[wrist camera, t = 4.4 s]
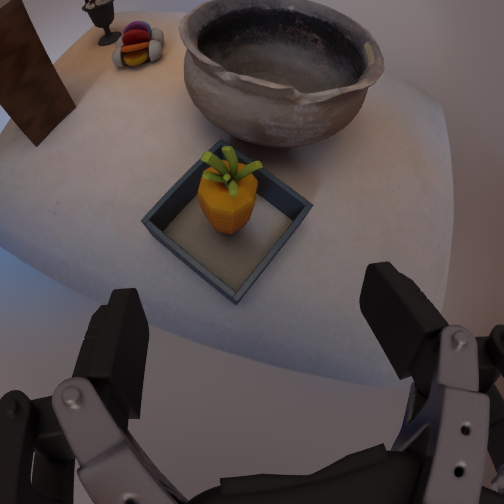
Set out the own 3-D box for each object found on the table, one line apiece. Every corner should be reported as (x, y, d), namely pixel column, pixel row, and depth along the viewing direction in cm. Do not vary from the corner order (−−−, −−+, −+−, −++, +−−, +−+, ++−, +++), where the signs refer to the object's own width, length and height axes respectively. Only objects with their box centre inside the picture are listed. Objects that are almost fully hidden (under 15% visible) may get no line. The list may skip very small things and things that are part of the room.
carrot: (258, 222, 33) (280, 148, 19) (233, 258, 32) (239, 203, 18) (221, 199, 34) (219, 115, 19) (196, 233, 32) (175, 164, 18)
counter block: (36, 147, 34) (-43, 46, 10) (19, 126, 34) (-47, 38, 11) (76, 107, 36) (19, -7, 13) (55, 91, 37) (4, -6, 13)
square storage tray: (236, 305, 31) (237, 301, 26) (152, 235, 32) (140, 220, 27) (302, 221, 34) (313, 204, 29) (221, 162, 35) (220, 138, 30)
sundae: (129, 37, 41) (114, -22, 26) (97, 52, 39) (77, -6, 25) (122, 26, 42) (109, -28, 27) (92, 39, 41) (74, -14, 26)
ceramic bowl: (173, 167, 34) (148, 80, 20) (203, 59, 40) (200, -16, 25) (349, 187, 35) (407, 116, 21) (336, 76, 41) (365, 8, 26)
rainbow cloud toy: (113, 76, 38) (102, 45, 31) (122, 45, 40) (114, 17, 33) (162, 66, 39) (155, 33, 32) (165, 37, 41) (161, 7, 34)
